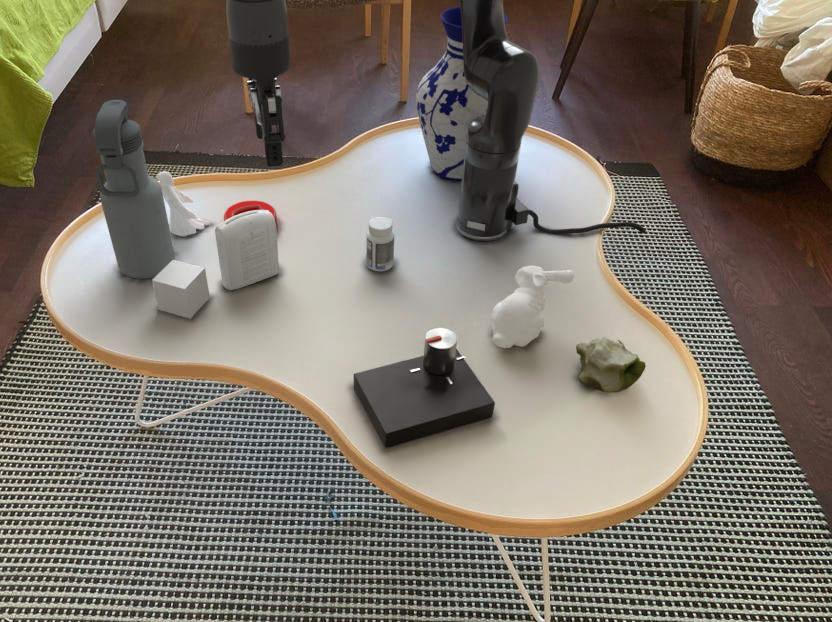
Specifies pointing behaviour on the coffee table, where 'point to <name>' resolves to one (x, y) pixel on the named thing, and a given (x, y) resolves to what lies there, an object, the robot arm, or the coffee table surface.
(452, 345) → the knob
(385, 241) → the pill bottle
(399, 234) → the coffee table surface
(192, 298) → the white cube
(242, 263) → the photo printer
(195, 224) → the figurine
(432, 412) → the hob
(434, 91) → the vase
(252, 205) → the decorative ornament
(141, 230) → the water bottle
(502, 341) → the rabbit
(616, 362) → the greyish green lumpy piece
